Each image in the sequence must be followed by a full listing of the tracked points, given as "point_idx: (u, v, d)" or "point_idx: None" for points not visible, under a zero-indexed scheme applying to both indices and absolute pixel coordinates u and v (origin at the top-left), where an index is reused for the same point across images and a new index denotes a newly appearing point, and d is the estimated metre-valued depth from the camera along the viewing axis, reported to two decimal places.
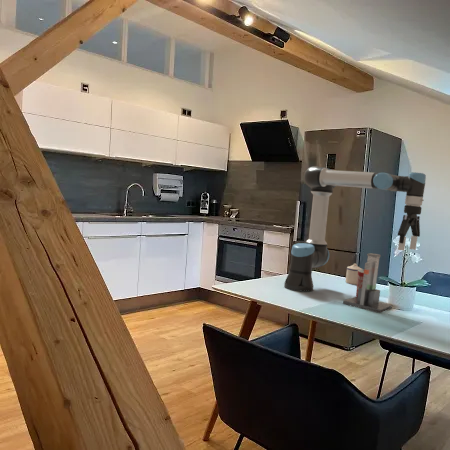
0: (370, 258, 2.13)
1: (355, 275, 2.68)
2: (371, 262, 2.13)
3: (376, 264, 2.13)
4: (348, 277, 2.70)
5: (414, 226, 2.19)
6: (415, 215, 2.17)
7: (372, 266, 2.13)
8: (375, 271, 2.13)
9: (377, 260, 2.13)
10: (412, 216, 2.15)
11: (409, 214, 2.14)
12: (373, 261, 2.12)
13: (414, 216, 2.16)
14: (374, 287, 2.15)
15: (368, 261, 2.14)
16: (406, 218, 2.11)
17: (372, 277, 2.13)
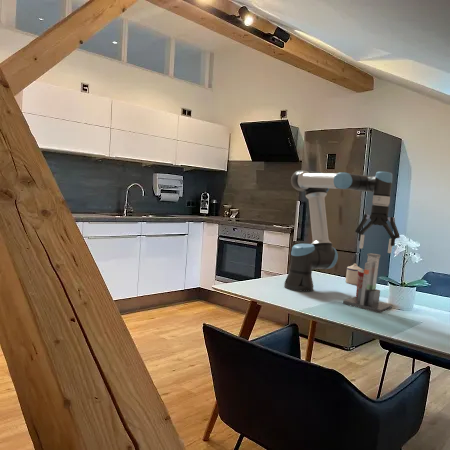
0: (370, 258, 2.13)
1: (355, 275, 2.68)
2: (371, 262, 2.13)
3: (376, 264, 2.13)
4: (348, 277, 2.70)
5: None
6: (381, 215, 2.11)
7: (372, 266, 2.13)
8: (375, 271, 2.13)
9: (377, 260, 2.13)
10: (374, 215, 2.13)
11: None
12: (373, 261, 2.12)
13: (379, 216, 2.12)
14: (374, 287, 2.15)
15: (368, 261, 2.14)
16: None
17: (372, 277, 2.13)
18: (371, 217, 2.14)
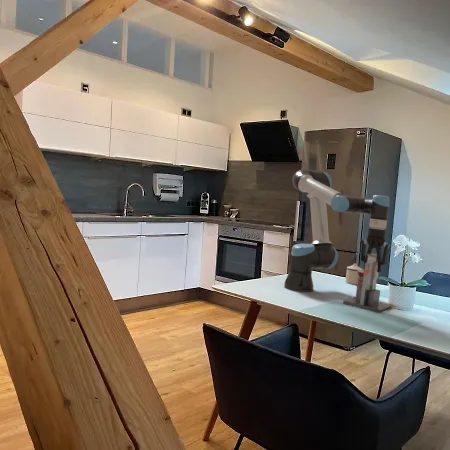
0: (370, 258, 2.13)
1: (355, 275, 2.68)
2: (371, 262, 2.13)
3: (376, 264, 2.13)
4: (348, 277, 2.70)
5: None
6: (380, 237, 2.11)
7: (372, 266, 2.13)
8: None
9: None
10: (370, 237, 2.14)
11: None
12: (373, 261, 2.12)
13: (376, 239, 2.13)
14: (374, 287, 2.15)
15: (368, 261, 2.14)
16: None
17: (372, 277, 2.13)
18: (368, 240, 2.15)
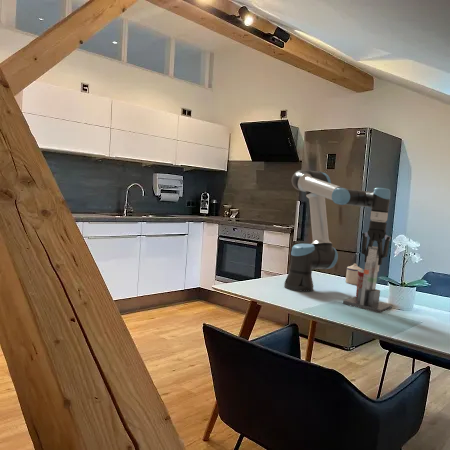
0: (371, 251, 2.13)
1: (355, 275, 2.68)
2: (372, 255, 2.13)
3: (377, 257, 2.13)
4: (348, 277, 2.70)
5: None
6: (381, 230, 2.11)
7: (373, 259, 2.12)
8: None
9: None
10: (371, 230, 2.14)
11: None
12: (374, 254, 2.12)
13: (377, 232, 2.12)
14: (375, 280, 2.14)
15: (369, 254, 2.14)
16: None
17: (373, 270, 2.12)
18: (369, 233, 2.15)
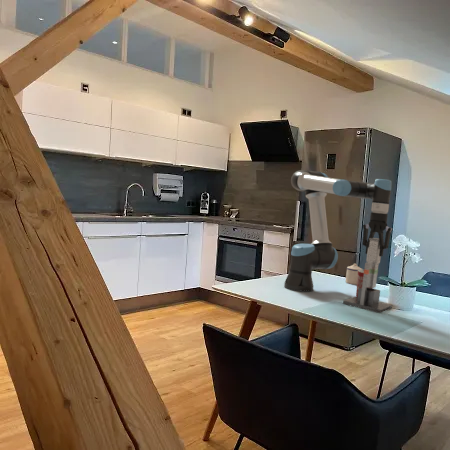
0: (372, 242, 2.13)
1: (355, 275, 2.68)
2: (373, 246, 2.13)
3: (378, 248, 2.12)
4: (348, 277, 2.70)
5: None
6: (382, 221, 2.11)
7: (374, 250, 2.12)
8: None
9: None
10: (372, 221, 2.14)
11: None
12: (375, 245, 2.12)
13: (378, 223, 2.12)
14: (376, 272, 2.14)
15: (370, 245, 2.13)
16: None
17: (374, 261, 2.12)
18: (370, 224, 2.14)
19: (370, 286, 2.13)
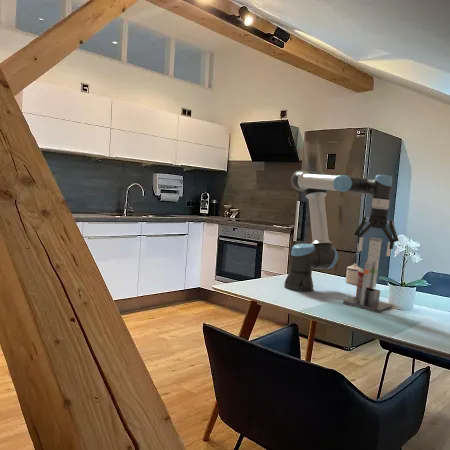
0: (372, 242, 2.13)
1: (355, 275, 2.68)
2: (373, 246, 2.13)
3: (378, 248, 2.12)
4: (348, 277, 2.70)
5: None
6: (380, 218, 2.11)
7: (374, 250, 2.12)
8: (377, 255, 2.13)
9: (379, 244, 2.13)
10: (373, 218, 2.13)
11: None
12: (375, 245, 2.12)
13: (378, 219, 2.12)
14: (376, 272, 2.14)
15: (370, 245, 2.13)
16: None
17: (374, 261, 2.12)
18: (370, 220, 2.14)
19: (370, 286, 2.13)
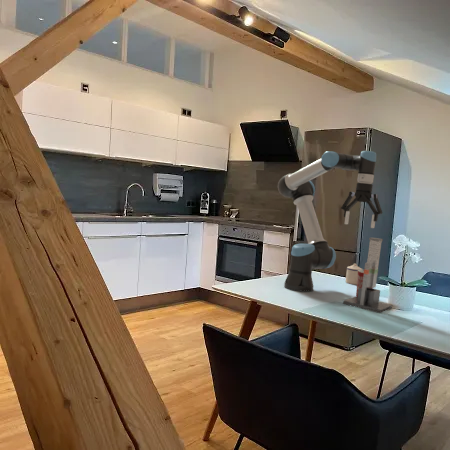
0: (372, 242, 2.13)
1: (355, 275, 2.68)
2: (373, 246, 2.13)
3: (378, 248, 2.12)
4: (348, 277, 2.70)
5: None
6: (365, 192, 2.23)
7: (374, 250, 2.12)
8: (377, 255, 2.13)
9: (379, 244, 2.13)
10: (358, 193, 2.25)
11: None
12: (375, 245, 2.12)
13: (363, 193, 2.23)
14: (376, 272, 2.14)
15: (370, 245, 2.13)
16: None
17: (374, 261, 2.12)
18: (356, 194, 2.26)
19: (370, 286, 2.13)
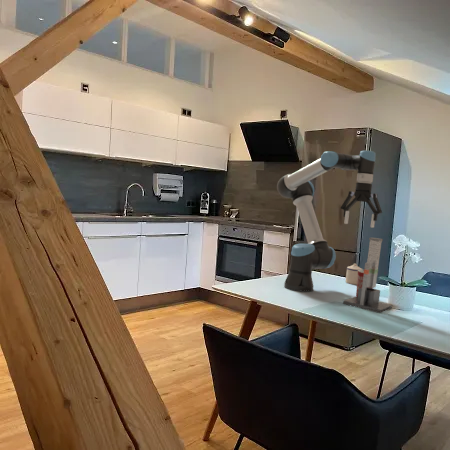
0: (372, 242, 2.13)
1: (355, 275, 2.68)
2: (373, 246, 2.13)
3: (378, 248, 2.12)
4: (348, 277, 2.70)
5: None
6: (365, 192, 2.23)
7: (374, 250, 2.12)
8: (377, 255, 2.13)
9: (379, 244, 2.13)
10: (358, 192, 2.25)
11: None
12: (375, 245, 2.12)
13: (363, 193, 2.24)
14: (376, 272, 2.14)
15: (370, 245, 2.13)
16: None
17: (374, 261, 2.12)
18: (355, 194, 2.26)
19: (370, 286, 2.13)
